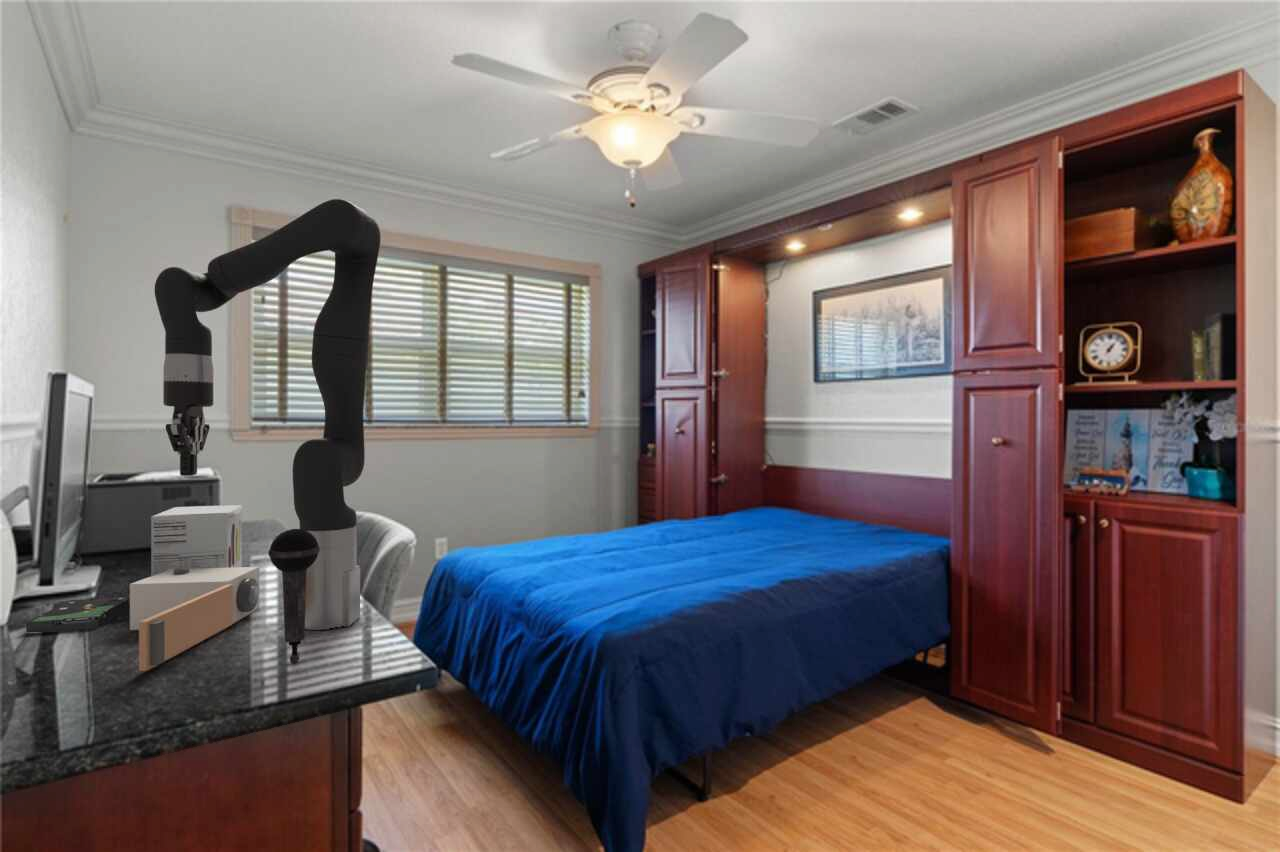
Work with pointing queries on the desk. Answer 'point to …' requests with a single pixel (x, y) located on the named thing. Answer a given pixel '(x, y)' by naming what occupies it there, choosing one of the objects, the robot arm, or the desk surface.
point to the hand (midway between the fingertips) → (188, 475)
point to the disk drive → (79, 615)
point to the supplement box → (196, 538)
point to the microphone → (294, 579)
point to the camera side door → (184, 626)
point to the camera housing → (192, 590)
